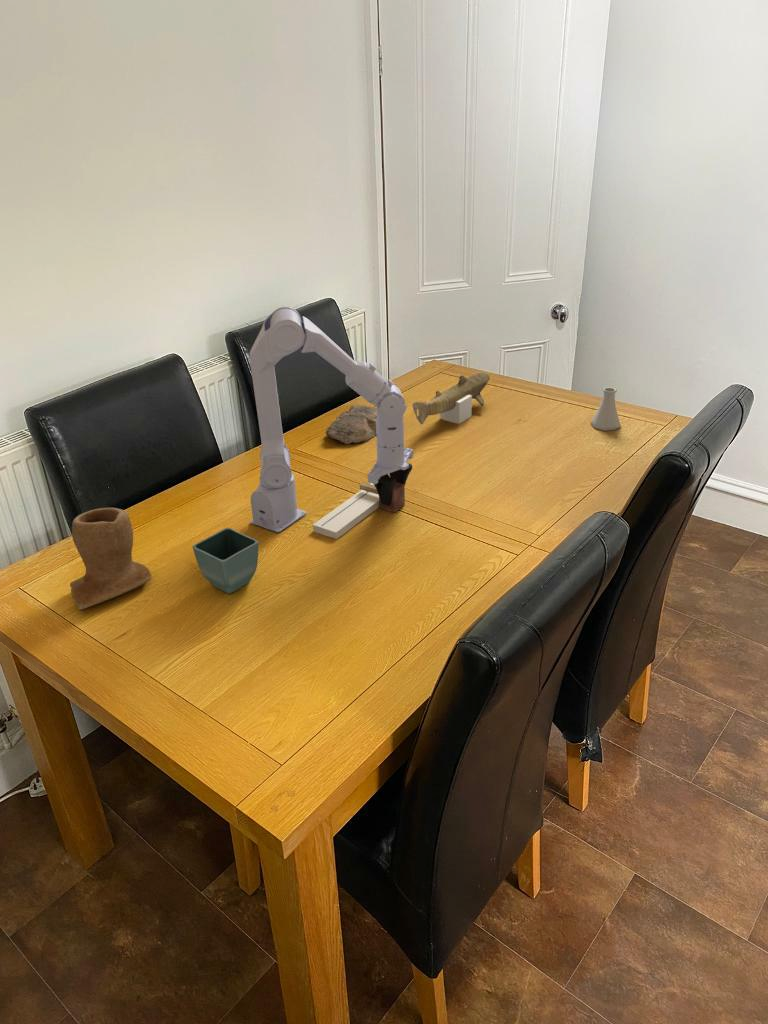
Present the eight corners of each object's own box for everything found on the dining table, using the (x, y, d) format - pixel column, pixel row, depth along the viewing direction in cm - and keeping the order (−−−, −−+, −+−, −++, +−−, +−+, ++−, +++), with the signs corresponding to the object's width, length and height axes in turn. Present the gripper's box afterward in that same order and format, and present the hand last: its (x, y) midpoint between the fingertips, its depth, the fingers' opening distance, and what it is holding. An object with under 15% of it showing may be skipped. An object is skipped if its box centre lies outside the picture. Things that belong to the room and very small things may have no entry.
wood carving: (398, 439, 205) (398, 398, 200) (471, 396, 229) (472, 358, 223) (428, 448, 200) (428, 406, 195) (499, 402, 224) (501, 364, 219)
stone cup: (133, 559, 160) (118, 493, 152) (160, 585, 152) (146, 516, 144) (57, 589, 152) (37, 520, 144) (81, 618, 143) (62, 547, 136)
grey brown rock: (354, 452, 200) (399, 423, 214) (353, 434, 198) (398, 406, 212) (310, 441, 207) (356, 413, 221) (308, 424, 205) (355, 397, 219)
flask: (585, 423, 211) (589, 387, 206) (607, 418, 213) (612, 382, 208) (603, 433, 205) (607, 396, 200) (625, 428, 208) (630, 391, 203)
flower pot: (233, 565, 157) (227, 526, 152) (264, 581, 152) (259, 540, 148) (197, 586, 151) (190, 546, 147) (229, 603, 146) (222, 562, 142)
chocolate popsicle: (394, 512, 173) (394, 492, 170) (356, 500, 178) (355, 480, 175) (404, 504, 176) (404, 484, 173) (366, 493, 180) (366, 473, 178)
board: (336, 539, 164) (336, 532, 163) (313, 531, 167) (312, 524, 166) (395, 494, 180) (395, 487, 179) (373, 487, 183) (372, 481, 182)
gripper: (387, 460, 160) (388, 519, 167) (425, 433, 171) (425, 490, 177) (358, 452, 164) (360, 510, 171) (397, 426, 174) (398, 482, 181)
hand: (391, 499), depth 174 cm, fingers closed on chocolate popsicle, 4 cm apart
